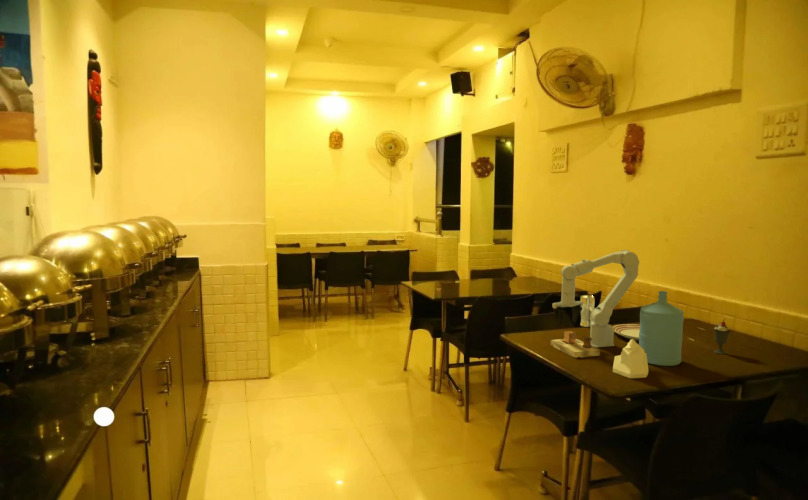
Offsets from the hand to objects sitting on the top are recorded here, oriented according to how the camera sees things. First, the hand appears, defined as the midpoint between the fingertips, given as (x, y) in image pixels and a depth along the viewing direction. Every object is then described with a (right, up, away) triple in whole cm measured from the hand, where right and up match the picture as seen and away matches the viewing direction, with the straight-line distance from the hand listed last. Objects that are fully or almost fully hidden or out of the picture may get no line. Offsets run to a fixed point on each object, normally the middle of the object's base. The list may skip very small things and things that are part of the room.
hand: (567, 322), depth 231 cm
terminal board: (0, -11, -9) cm, 14 cm away
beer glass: (+20, -6, +31) cm, 38 cm away
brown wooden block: (-1, -10, -6) cm, 12 cm away
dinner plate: (+39, -9, +11) cm, 42 cm away
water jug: (+30, -12, -22) cm, 39 cm away
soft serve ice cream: (+13, -14, -36) cm, 41 cm away
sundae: (+60, -11, -13) cm, 63 cm away
